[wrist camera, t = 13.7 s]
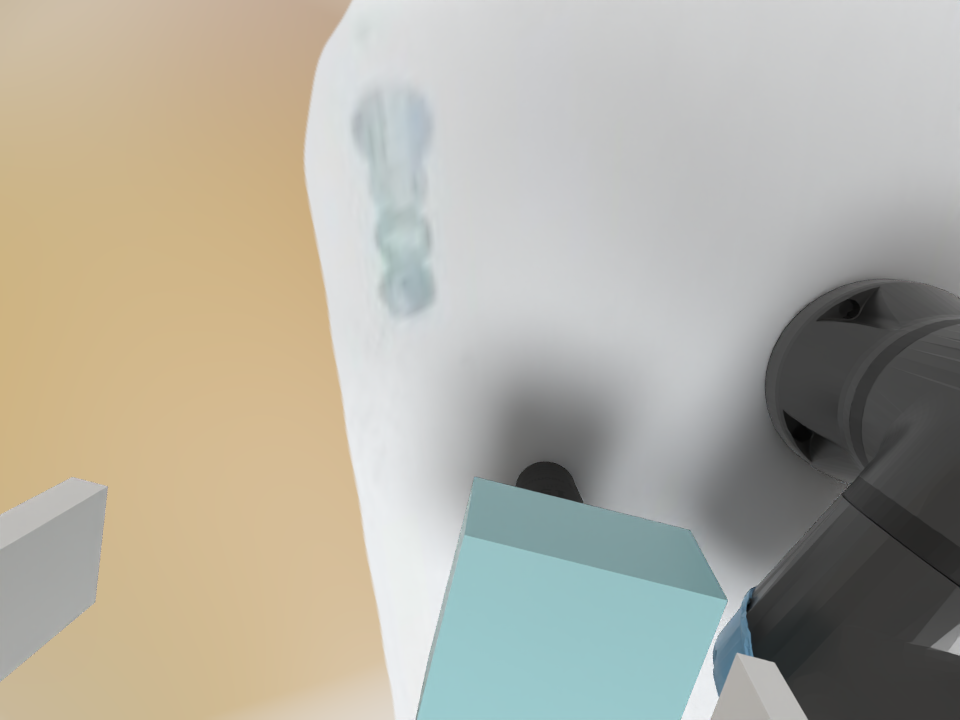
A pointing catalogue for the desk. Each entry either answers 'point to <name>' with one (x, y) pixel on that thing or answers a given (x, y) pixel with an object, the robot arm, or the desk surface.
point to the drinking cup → (549, 481)
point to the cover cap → (568, 614)
